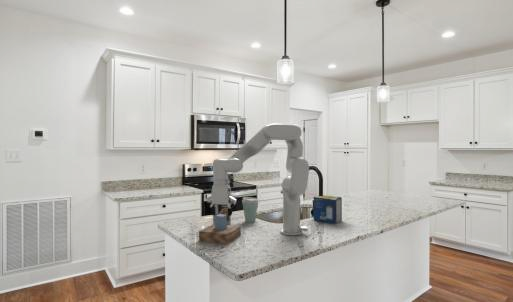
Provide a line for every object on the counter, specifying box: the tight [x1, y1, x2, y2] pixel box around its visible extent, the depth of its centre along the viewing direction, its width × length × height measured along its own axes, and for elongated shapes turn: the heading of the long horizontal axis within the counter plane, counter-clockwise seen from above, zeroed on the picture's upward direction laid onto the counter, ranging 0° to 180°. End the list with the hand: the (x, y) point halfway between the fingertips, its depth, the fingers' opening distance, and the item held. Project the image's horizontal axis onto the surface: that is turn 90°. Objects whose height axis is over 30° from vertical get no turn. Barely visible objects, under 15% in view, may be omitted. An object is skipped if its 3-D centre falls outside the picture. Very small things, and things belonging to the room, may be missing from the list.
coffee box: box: [212, 204, 232, 225], centre depth 180 cm, size 9×6×16 cm
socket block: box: [198, 223, 242, 246], centre depth 153 cm, size 16×16×5 cm
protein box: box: [313, 194, 343, 225], centre depth 191 cm, size 10×15×16 cm
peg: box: [215, 214, 227, 231], centre depth 153 cm, size 4×4×12 cm
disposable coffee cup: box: [241, 196, 259, 223], centre depth 188 cm, size 11×11×15 cm
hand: (221, 215), depth 153 cm, fingers open, 9 cm apart
